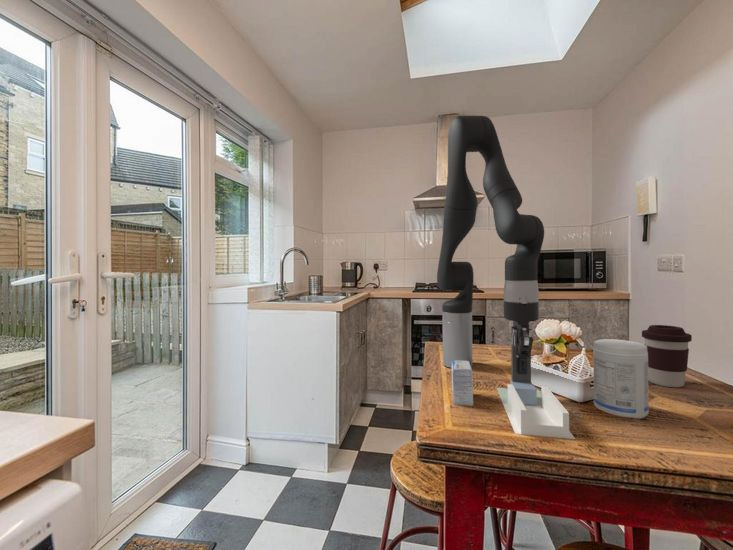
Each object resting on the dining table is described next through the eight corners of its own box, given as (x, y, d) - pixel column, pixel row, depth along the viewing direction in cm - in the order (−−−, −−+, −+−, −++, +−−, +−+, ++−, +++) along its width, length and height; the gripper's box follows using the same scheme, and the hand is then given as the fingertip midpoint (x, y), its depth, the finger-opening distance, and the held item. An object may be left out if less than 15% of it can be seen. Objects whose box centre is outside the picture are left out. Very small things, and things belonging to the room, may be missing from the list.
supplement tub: (616, 400, 80) (616, 337, 80) (660, 417, 71) (660, 346, 71) (582, 405, 78) (582, 340, 77) (623, 423, 69) (623, 349, 68)
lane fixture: (496, 390, 88) (496, 370, 88) (539, 392, 86) (538, 372, 86) (515, 436, 64) (515, 409, 64) (575, 442, 61) (575, 413, 61)
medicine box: (473, 408, 77) (473, 369, 77) (452, 407, 78) (452, 368, 78) (470, 395, 85) (469, 360, 85) (451, 394, 86) (451, 359, 85)
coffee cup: (700, 386, 88) (700, 328, 88) (677, 392, 85) (677, 331, 84) (655, 375, 98) (655, 322, 97) (633, 380, 94) (633, 325, 94)
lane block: (510, 394, 83) (510, 344, 83) (530, 395, 82) (530, 345, 82) (515, 403, 77) (514, 350, 77) (536, 405, 76) (536, 351, 76)
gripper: (499, 296, 89) (500, 363, 89) (508, 302, 76) (509, 381, 76) (531, 297, 87) (531, 365, 88) (546, 302, 74) (546, 383, 74)
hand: (521, 372), depth 82 cm, fingers closed on lane block, 1 cm apart
